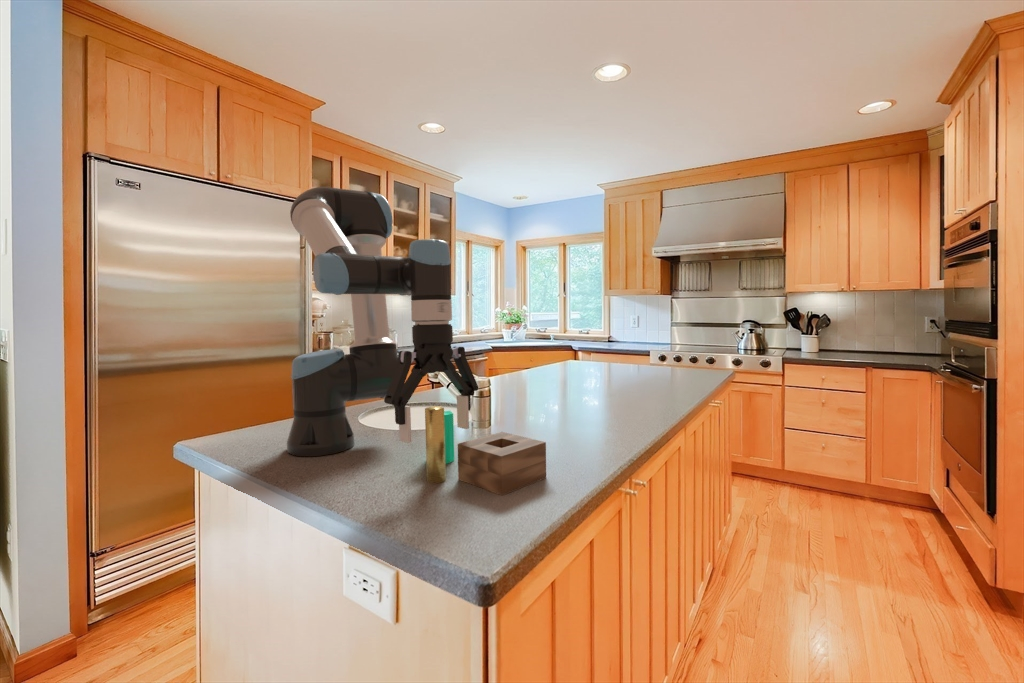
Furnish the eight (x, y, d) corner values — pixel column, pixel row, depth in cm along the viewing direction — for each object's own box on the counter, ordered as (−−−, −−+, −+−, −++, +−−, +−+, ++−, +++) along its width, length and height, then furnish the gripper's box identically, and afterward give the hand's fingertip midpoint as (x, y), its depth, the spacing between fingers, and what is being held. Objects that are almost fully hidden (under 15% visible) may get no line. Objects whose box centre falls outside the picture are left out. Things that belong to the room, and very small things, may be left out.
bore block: (458, 479, 93) (457, 443, 93) (502, 464, 102) (502, 431, 102) (502, 495, 85) (501, 456, 85) (546, 477, 94) (545, 442, 93)
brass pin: (423, 480, 93) (421, 408, 92) (438, 475, 96) (436, 405, 95) (434, 484, 91) (432, 411, 90) (449, 479, 93) (447, 408, 92)
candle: (449, 464, 102) (448, 408, 102) (422, 463, 104) (421, 408, 103) (458, 456, 108) (456, 403, 107) (432, 455, 109) (431, 402, 109)
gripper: (384, 325, 80) (389, 452, 81) (493, 321, 98) (496, 425, 99) (361, 325, 85) (366, 444, 86) (469, 321, 103) (472, 420, 104)
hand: (435, 434), depth 93 cm, fingers open, 13 cm apart
